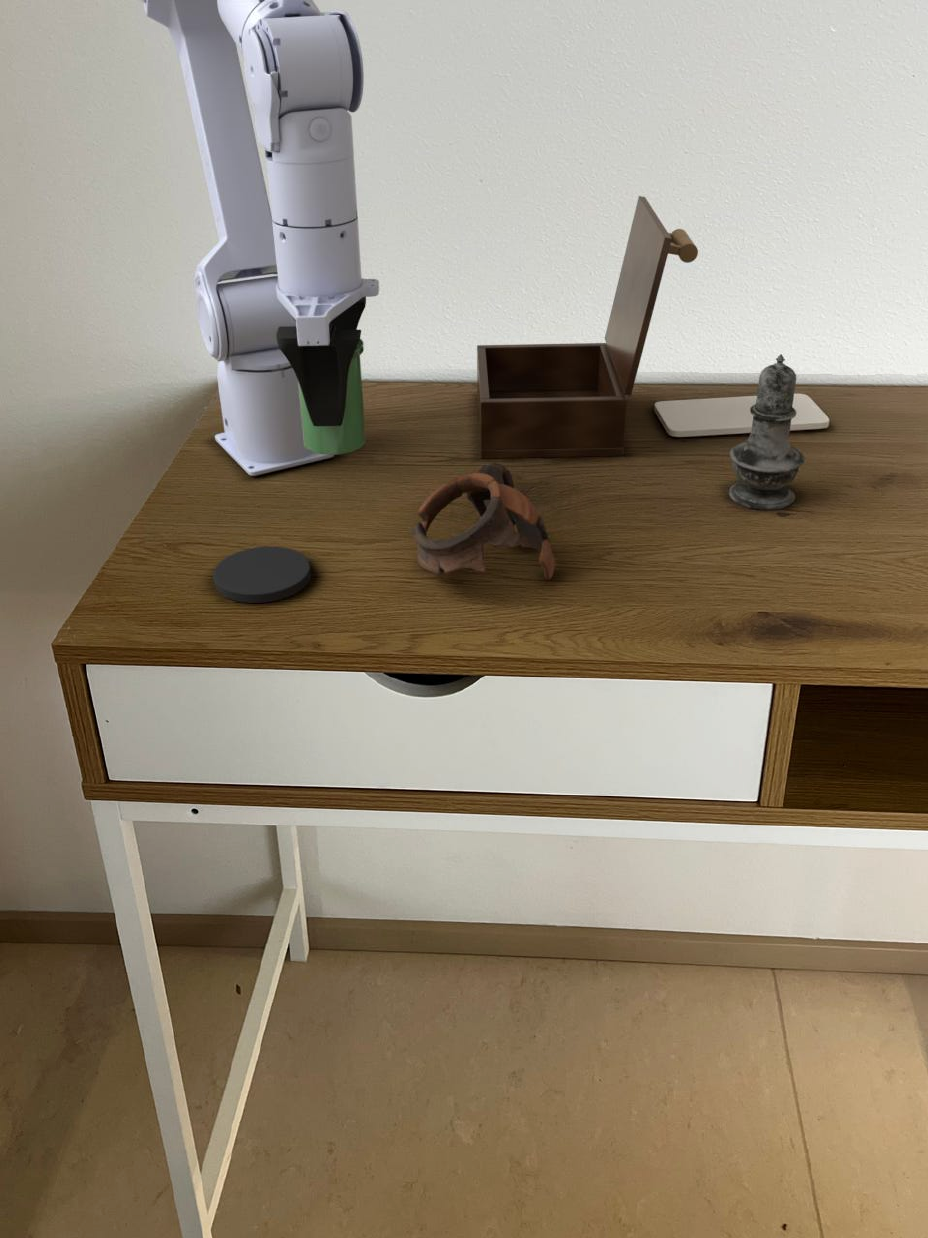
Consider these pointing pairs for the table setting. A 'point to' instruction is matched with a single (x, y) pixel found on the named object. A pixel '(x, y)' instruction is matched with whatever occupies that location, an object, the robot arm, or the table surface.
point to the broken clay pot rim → (482, 523)
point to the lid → (641, 288)
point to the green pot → (353, 423)
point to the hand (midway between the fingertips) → (330, 409)
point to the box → (549, 401)
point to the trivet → (262, 574)
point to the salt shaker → (768, 444)
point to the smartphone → (729, 415)
